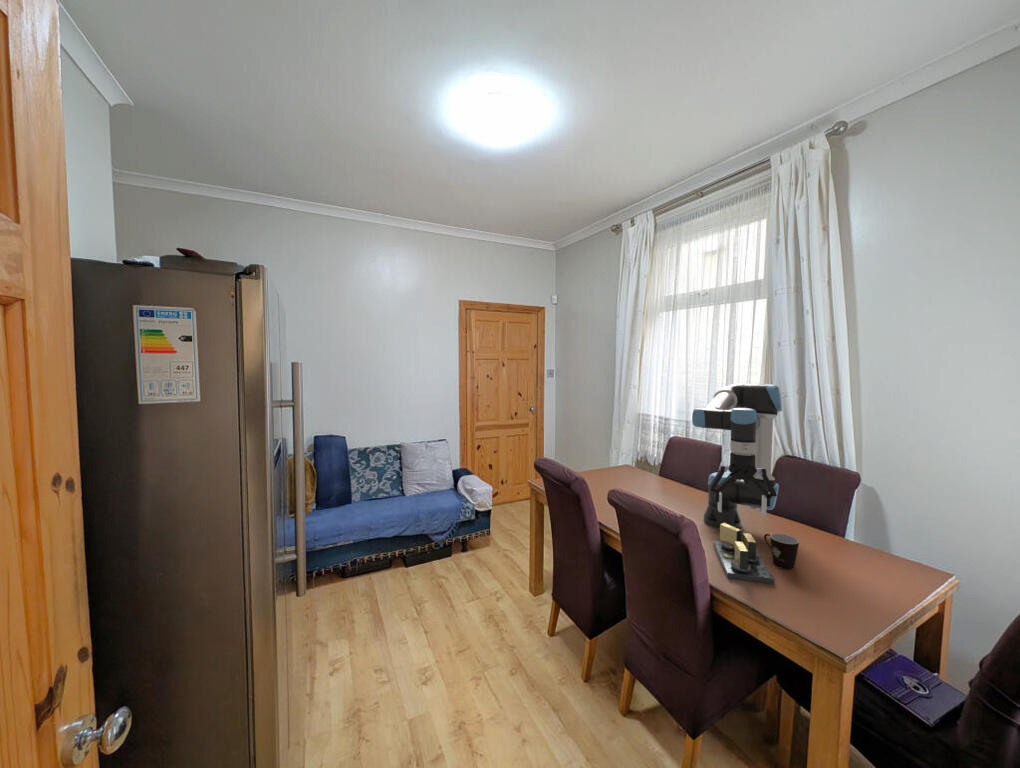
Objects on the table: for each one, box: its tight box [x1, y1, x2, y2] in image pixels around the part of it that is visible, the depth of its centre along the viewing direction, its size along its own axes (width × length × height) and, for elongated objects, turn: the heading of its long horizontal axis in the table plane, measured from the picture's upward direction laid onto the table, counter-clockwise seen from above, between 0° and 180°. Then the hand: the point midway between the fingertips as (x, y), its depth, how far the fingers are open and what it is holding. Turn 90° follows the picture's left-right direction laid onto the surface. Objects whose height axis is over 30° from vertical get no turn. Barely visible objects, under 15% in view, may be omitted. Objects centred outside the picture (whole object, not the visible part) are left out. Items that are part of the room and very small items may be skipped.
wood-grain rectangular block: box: [742, 532, 759, 563], centre depth 140 cm, size 7×6×8 cm
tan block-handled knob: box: [719, 523, 743, 551], centre depth 149 cm, size 7×6×8 cm
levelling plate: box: [713, 540, 775, 585], centre depth 141 cm, size 24×14×3 cm, turn 162°
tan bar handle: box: [731, 541, 751, 573], centre depth 134 cm, size 7×6×8 cm
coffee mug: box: [763, 532, 800, 571], centre depth 141 cm, size 12×9×10 cm
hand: (741, 513), depth 133 cm, fingers open, 13 cm apart
